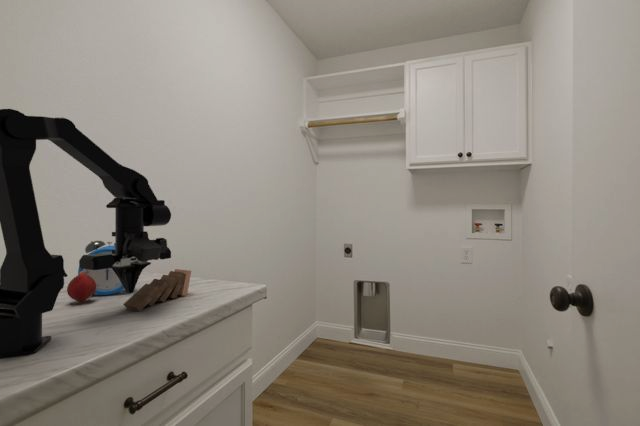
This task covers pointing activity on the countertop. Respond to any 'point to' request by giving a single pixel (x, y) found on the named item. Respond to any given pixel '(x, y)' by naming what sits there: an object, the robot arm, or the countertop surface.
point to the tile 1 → (142, 297)
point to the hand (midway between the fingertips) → (129, 293)
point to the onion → (81, 287)
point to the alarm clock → (103, 271)
